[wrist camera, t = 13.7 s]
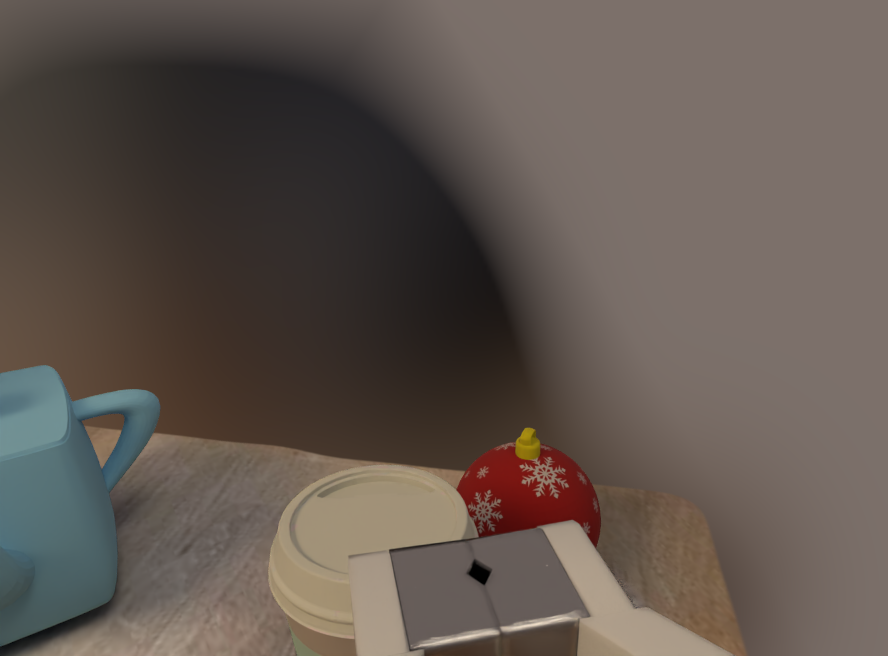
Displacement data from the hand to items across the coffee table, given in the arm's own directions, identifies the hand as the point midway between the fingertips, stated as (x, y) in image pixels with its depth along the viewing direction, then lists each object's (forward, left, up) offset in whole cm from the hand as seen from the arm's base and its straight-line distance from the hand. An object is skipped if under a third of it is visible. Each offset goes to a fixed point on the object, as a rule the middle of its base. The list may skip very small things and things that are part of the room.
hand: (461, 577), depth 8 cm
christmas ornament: (-15, -20, -22) cm, 33 cm away
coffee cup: (-4, -14, -22) cm, 27 cm away
